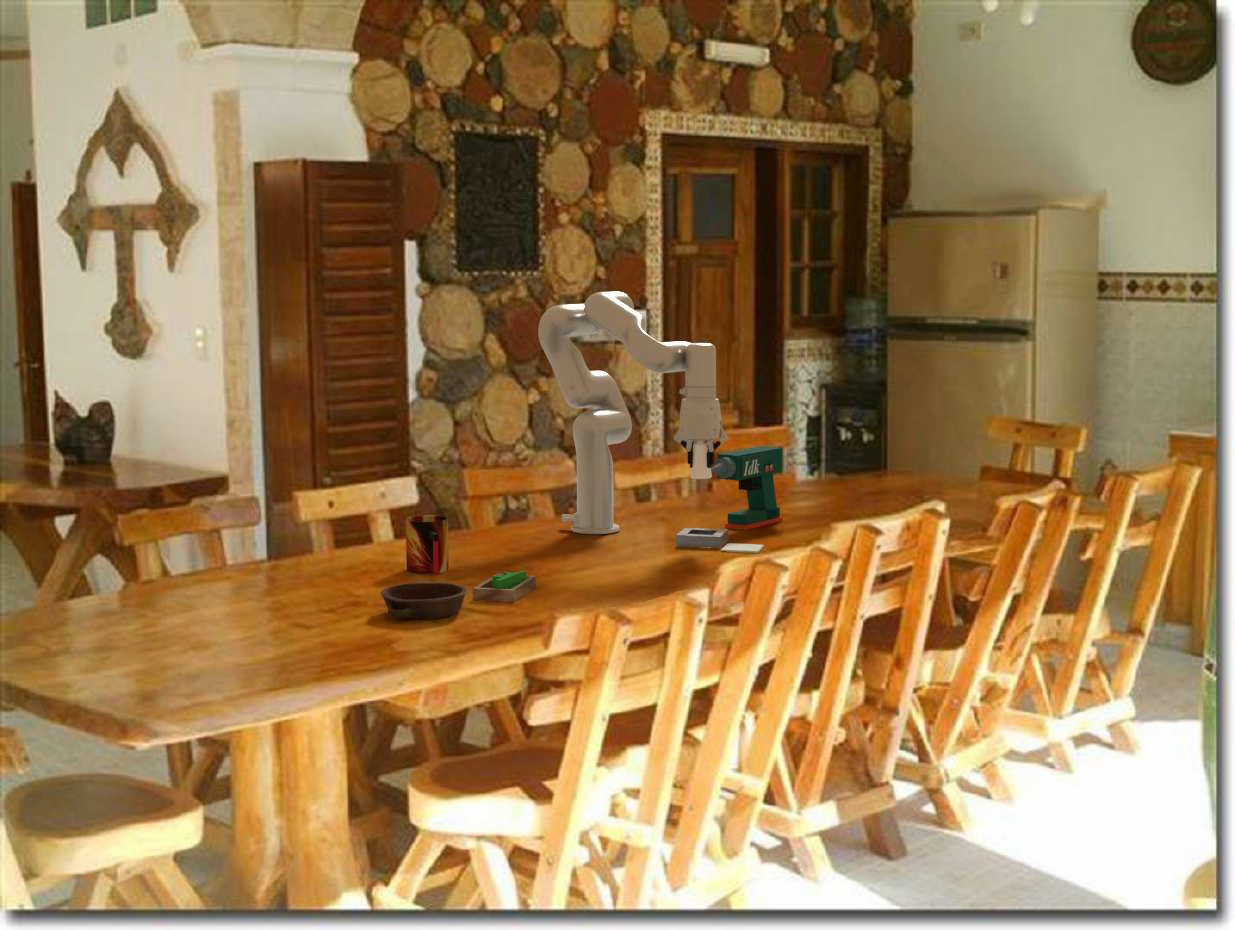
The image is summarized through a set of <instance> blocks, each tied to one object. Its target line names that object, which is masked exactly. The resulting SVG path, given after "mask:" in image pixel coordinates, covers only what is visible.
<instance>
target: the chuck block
mask: <svg viewBox="0 0 1235 930" xmlns="http://www.w3.org/2000/svg"><path fill="white" fill-rule="evenodd" d="M727 541H728V542H729V528H725V529H721V528H700V527H699V528H698V527H684V528H683V529H682V530H681V531H679V532H678V533H677V534H675V547H676V548H687V547H711V548H720V547H721V548H723V547H724V546H725V545H726V544H727V543H728V542H727ZM726 542H727V543H726ZM725 543H726V544H725ZM724 544H725V545H724ZM723 545H724V546H723ZM721 548H720V549H721Z"/></svg>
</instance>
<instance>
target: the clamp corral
mask: <svg viewBox="0 0 1235 930" xmlns="http://www.w3.org/2000/svg"><path fill="white" fill-rule="evenodd" d="M502 575H503V573H496V574H495V575H494V576H502ZM536 588H537V575H528V574H527V579H526V580H524V581H523V582H521V583H520V584H518V585H517V586H515V587H513V588H512V589H495V588H493V587H492V576H491V577H490V578H488V579H487V580H485V581H483V582H482V583H479V584H477V586H474V587H473V588H472V600H473V601H482V600H485V601H487V602H504V603H515V602H516V601H518V600H520V599H521V598H522V597H524V596H526V595H527V594H528V593H530V592H531V591H533V590H534V589H536ZM529 591H530V592H529ZM521 596H522V597H521ZM520 597H521V598H520ZM517 599H518V600H517Z"/></svg>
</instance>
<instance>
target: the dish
mask: <svg viewBox="0 0 1235 930" xmlns="http://www.w3.org/2000/svg"><path fill="white" fill-rule="evenodd" d="M468 591H469V590H468V588H467V586H463V585H460V584H456V583H452V582H441V581H440V582H438V581H437V582H436V581H435V582H434V581H433V582H408V583H399V584H394V585H391V586H387V587H385V588H383V589H382V590H381V591H380V596H381V597H382V598H383V600H384V603H385V605H386V608H387V616H388V617H389V618H391V619H407V618H408V620H431V619H430V618H436V619H440V618H439V617H442V618H445V617H444V616H446V617H448V615H449V616H452V615H455V614H456V613H458V612H460V610H461V609H462V606H463V603H464V600H465V597H466V595H467V593H468Z"/></svg>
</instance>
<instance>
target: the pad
mask: <svg viewBox="0 0 1235 930" xmlns="http://www.w3.org/2000/svg"><path fill="white" fill-rule="evenodd" d="M764 547H765V544H756V543H755V544H754V543H753V544H751V543H734V542H733V543H732V542H729V543H728V542H727V543H726V544H725V545H724V546H722V547H721V548H720V552H721V551H726V552H725V553H746V554H748V553H749V554H758V553H760V551H762V550H763V548H764Z"/></svg>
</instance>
